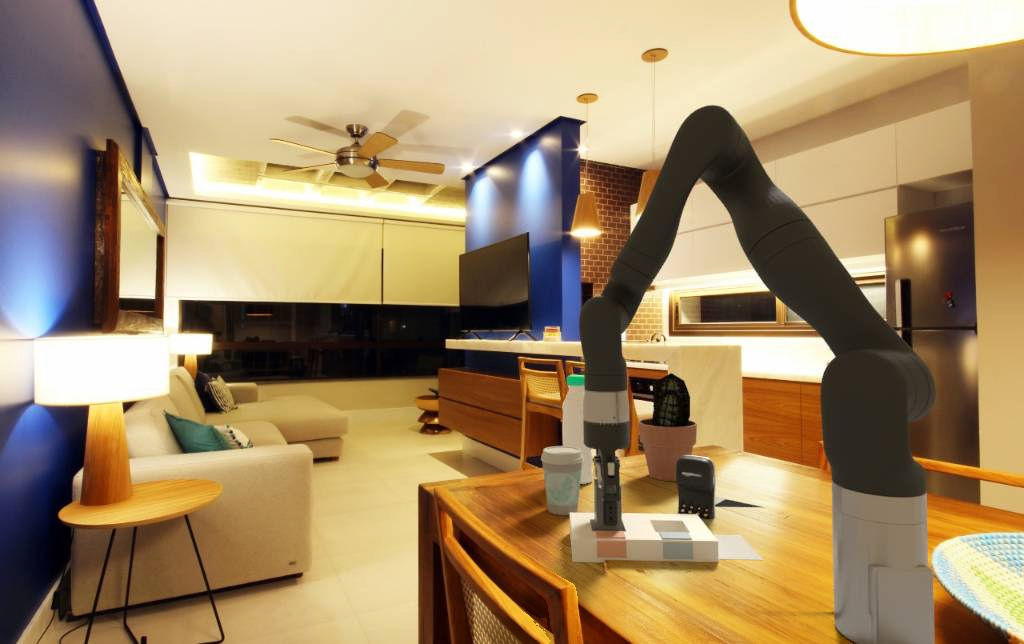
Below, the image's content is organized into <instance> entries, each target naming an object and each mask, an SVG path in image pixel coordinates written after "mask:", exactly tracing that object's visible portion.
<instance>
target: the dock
mask: <svg viewBox="0 0 1024 644" xmlns="http://www.w3.org/2000/svg"><path fill="white" fill-rule="evenodd" d="M714 535H715V534H713V532H712V531H711V530H710V529H709V527H708V526H707V525H706V524H705V522H704V521H703V520H702V518H700V517H699V516H698V515H697V514H679V513H643V512H642V513H634V512H633V513H628V512H622V531H595V512H576V513H572V512H570V515H569V536H570V537H569V539H570V548H571V559H572V563H597V564H598V563H600V564H601V563H603V564H605V563H607V562H606V561H643V562H644V561H646V562H647V561H648V562H649V561H653V562H654V561H655V562H693V563H695V562H697V563H699V562H700V563H704V562H705V563H719V560H720V559H718V540H717V539H716V538H715V536H714Z"/></svg>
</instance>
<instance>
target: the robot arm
mask: <svg viewBox="0 0 1024 644" xmlns="http://www.w3.org/2000/svg"><path fill="white" fill-rule="evenodd" d="M762 164H763V163H761V161H760V159H759V157H758V155H757V154H756V151H755V149H754V146H753V145H752V144H751V141H750V139H749V137H748V135H747V133H746V131H744V129H743V128H742V127H741V125H740V124H739V122H738V121H737V119H736V118H735V117H734V116H733V114H731V113H730V111H728V109H726V108H725V107H723V106H721V105H716V104H709V105H708V104H706V105H704V106H701V107H699V108H697V109H695V110H694V111H692V112H691V113H690V114H689V115H688V116H687V117H686V118H685V119H684V120H683V122H682V123H681V124H680V127H679V128H678V130H677V132H676V134H675V136H674V138H673V140H672V143H671V145H670V147H669V150H668V152H667V154H666V157H665V160H664V162H663V164H662V167H661V170H659V173H658V176H657V178H656V181H655V183H654V186H653V187H652V190H651V192H650V195H649V197H648V200H647V202H646V204H645V206H644V209H643V211H642V212H641V214H640V217H639V218H638V220H637V223H636V224H635V226H634V228H633V230H632V231H631V233H630V235H629V236H628V238H627V240H626V241H625V243H624V244H623V247H622V248H621V250H620V251H619V253H618V254H617V256H616V258H615V259H614V262H613V263H612V265H611V267H610V269H609V270H610V271H609V280H608V281H607V283H606V285H605V287H604V289H603V290H602V292H601V294H600V295H596V296H594V297H591V298H589V299H587V301H585V303H584V304H583V305H582V307H581V309H580V312H579V317H578V319H579V320H578V331H579V340H580V344H581V351H582V356H583V360H584V367H583V368H584V370H583V371H584V372H583V373H584V389H585V390H584V400H583V437H584V445H585V446H586V447H588V448H592V450H595V455H593V464H594V465H593V466H594V477H595V479H598V487H599V488H601V490H602V496H601V499H602V502H603V524H604V525H605V526H616V525H617V502H618V501H620V485H621V477H620V476H621V475H620V469H621V461H620V459H619V456H618V455H616V451H618V450H624V449H627V448H628V447H629V446H630V443H631V442H630V440H631V439H630V437H631V435H630V434H631V433H630V401H629V395H628V365H627V361H626V358H625V356H624V355H623V343H622V342H623V340H622V334H624V332H626V330H627V329H628V328H629V326H630V325H631V323H632V321H633V319H634V318H635V316H636V314H637V312H638V309H639V307H640V305H641V303H642V301H643V299H644V296H645V294H646V292H647V290H648V289H649V287H650V286H651V285H652V283H653V282H654V280H655V279H656V277H657V276H658V274H659V273H660V271H661V270H662V269H663V266H664V265H665V263H666V261H667V260H668V258H669V255H670V254H671V251H672V249H673V247H674V244H675V241H676V238H677V234H678V230H679V227H680V223H681V219H682V215H683V212H684V209H685V207H686V203H687V202H688V199H689V196H690V195H691V192H692V190H693V189H694V187H695V185H696V184H697V182H698V181H699V179H700V180H701V182H703V183H704V184H705V185H706V186H707V187H708V188H709V189H710V190H711V192H712V193H713V194H714V195H715V196H716V197H717V199H718V200H719V201H720V203H721V204H722V205H723V206H724V208H725V209H726V210H727V212H728V214H729V217H730V219H731V221H732V224H733V227H734V231H735V234H736V238H737V240H738V243H739V244H740V247H741V249H742V251H743V253H744V254H745V256H746V258H747V260H748V262H749V263H750V265H751V266H752V268H753V269H754V271H755V273H756V274H757V275H758V277H759V278H760V280H761V281H762V283H763V284H764V286H765V287H766V288H767V290H768V291H770V293H772V294H773V295H774V296H775V297H776V299H778V300H779V301H780V302H781V303H782V304H784V306H786V307H787V308H788V309H790V310H791V311H792V312H793V313H794V314H796V315H797V316H798V317H799V318H801V319H802V320H803V321H804V322H805V323H807V324H808V325H809V326H810V327H811V328H813V329H814V330H815V331H816V333H817V334H818V335H819V336H820V337H821V338H822V339H823V341H824V342H825V343H826V345H827V346H828V348H829V349H830V351H831V352H832V354H833V355H834V358H832V360H830V362H829V363H828V364H827V365H826V367H825V369H824V371H823V374H822V377H821V382H820V392H819V393H820V394H819V396H820V398H819V400H820V415H821V417H820V419H821V431H822V433H821V434H822V444H823V451H824V455H825V458H826V461H827V462H828V464H829V466H830V471H831V513H832V514H831V517H832V518H831V520H832V521H831V522H832V523H831V525H832V526H831V527H832V567H833V568H832V572H833V578H832V579H833V581H832V582H833V611H834V612H833V616H834V621H833V622H834V627H836V629H837V630H838V632H839V633H840V634H842V635H843V636H844V637H845V638H847V639H849V640H850V641H852V642H854V643H855V644H935V641H936V640H935V609H934V607H935V604H934V602H935V601H934V600H935V599H934V572H933V570H932V568H931V567H929V548H928V546H929V545H928V500H927V499H928V495H927V494H928V493H927V491H928V487H927V485H928V484H927V482H928V481H927V472H926V469H925V467H924V466H923V465H922V464H921V463H919V462H918V461H916V460H915V459H914V457H913V454H912V451H911V443H910V442H911V441H910V425H909V424H910V423H914V422H916V421H918V420H921V419H922V418H924V417H926V416H927V414H929V412H930V411H931V410H932V409H933V407H934V404H935V402H936V397H937V386H936V383H935V382H936V381H935V379H934V376H933V374H932V372H931V370H930V368H929V367H928V365H927V364H926V363H925V362H924V360H923V359H922V358H921V357H920V356H919V355H918V353H916V352H915V350H913V348H912V347H911V346H910V345H909V344H908V342H906V341H905V340H904V339H903V338H902V337H901V336H900V334H898V333H897V331H896V330H895V329H893V327H892V326H891V325H890V324H889V323H888V322H887V321H886V320H885V319H884V317H883V316H882V315H881V314H880V313H879V312H878V311H877V310H876V308H874V306H873V305H872V303H871V302H870V300H868V298H867V297H866V295H865V294H864V292H863V290H862V289H861V288H860V286H859V285H858V284H857V282H856V280H855V279H854V278H853V276H852V275H851V274H850V272H849V270H848V269H847V268H846V267H845V266H844V263H842V261H841V260H840V258H839V257H838V256H837V255H836V253H835V252H834V250H833V249H832V247H831V246H830V245H829V243H828V241H827V240H826V238H825V237H824V236H823V235H822V233H821V231H819V228H817V226H816V224H814V222H813V221H812V220H811V219H810V217H809V216H808V215H807V214H806V213H805V212H804V210H803V209H802V208H800V207H799V205H798V204H797V203H796V202H795V201H794V200H793V199H792V198H790V197H789V196H788V195H787V194H786V193H785V192H784V191H782V189H780V188H779V187H778V186H777V185H776V184H775V182H773V180H772V179H771V177H770V176H769V174H768V173H767V171H766V169H765V168H764V166H763V165H762ZM607 488H613V489H614V493H607Z"/></svg>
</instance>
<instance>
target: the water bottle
mask: <svg viewBox="0 0 1024 644" xmlns="http://www.w3.org/2000/svg"><path fill="white" fill-rule="evenodd" d="M566 386H567V388H568V391H567V393H566V395H565V399H564V400H563V402H562V406H561V408H562V428H561V429H562V446H570V447H576V448H579V449H580V450H581V453H582V455H583V459H584V461H583V462H582V469H581V480H580V484H582V485H588V484H591V482H592V481H594V471H593V462H594V455H593V451H592V450H593V449H592V448H588V447H586V446H585V445H584V437H583V400H584V390H585V389H584V375H582V374H571V375H568V376H567V377H566ZM587 483H588V484H587Z"/></svg>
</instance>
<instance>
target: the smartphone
mask: <svg viewBox="0 0 1024 644" xmlns="http://www.w3.org/2000/svg"><path fill="white" fill-rule="evenodd" d="M715 508H763V506H762V505H756V504H751V503H747V502H743V501H737V500H733V499H728V498H724V497H719V496H717V497H716V496H715ZM765 508H767V507H765V506H764V509H765ZM788 517H789V515H788V516H786V517H785V519H787V518H788Z"/></svg>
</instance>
